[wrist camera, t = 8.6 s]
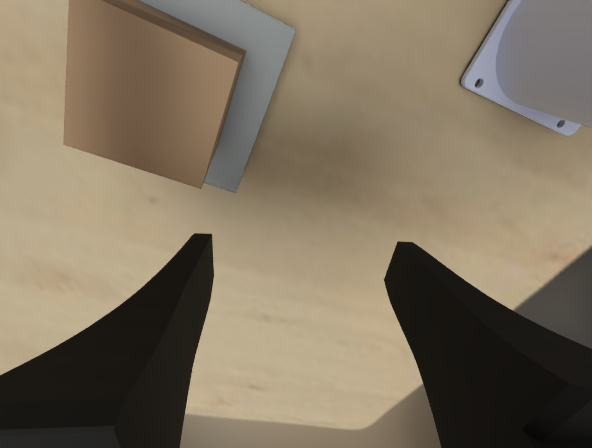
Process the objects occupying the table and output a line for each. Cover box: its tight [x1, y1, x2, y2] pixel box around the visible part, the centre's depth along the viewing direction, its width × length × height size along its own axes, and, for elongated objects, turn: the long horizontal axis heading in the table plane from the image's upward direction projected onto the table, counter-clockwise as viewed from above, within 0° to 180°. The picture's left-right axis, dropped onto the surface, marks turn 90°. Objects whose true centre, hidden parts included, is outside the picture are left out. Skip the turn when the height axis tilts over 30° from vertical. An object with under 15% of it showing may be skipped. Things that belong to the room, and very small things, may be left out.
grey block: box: [139, 0, 296, 193], centre depth 16 cm, size 9×9×4 cm
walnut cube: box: [63, 0, 246, 189], centre depth 13 cm, size 5×5×5 cm
